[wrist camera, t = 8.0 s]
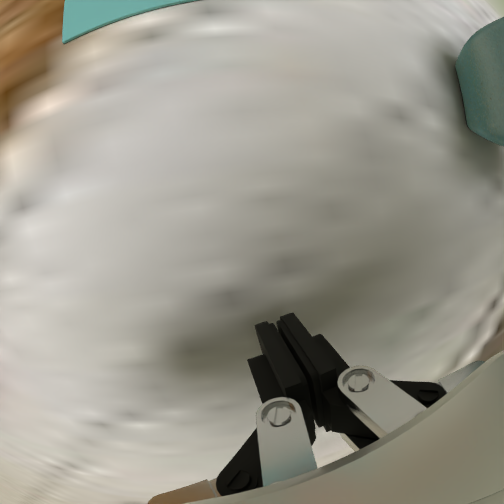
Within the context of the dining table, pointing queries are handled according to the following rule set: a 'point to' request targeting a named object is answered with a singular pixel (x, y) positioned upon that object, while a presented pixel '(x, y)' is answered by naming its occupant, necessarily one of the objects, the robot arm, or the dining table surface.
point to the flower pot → (484, 81)
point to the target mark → (103, 13)
